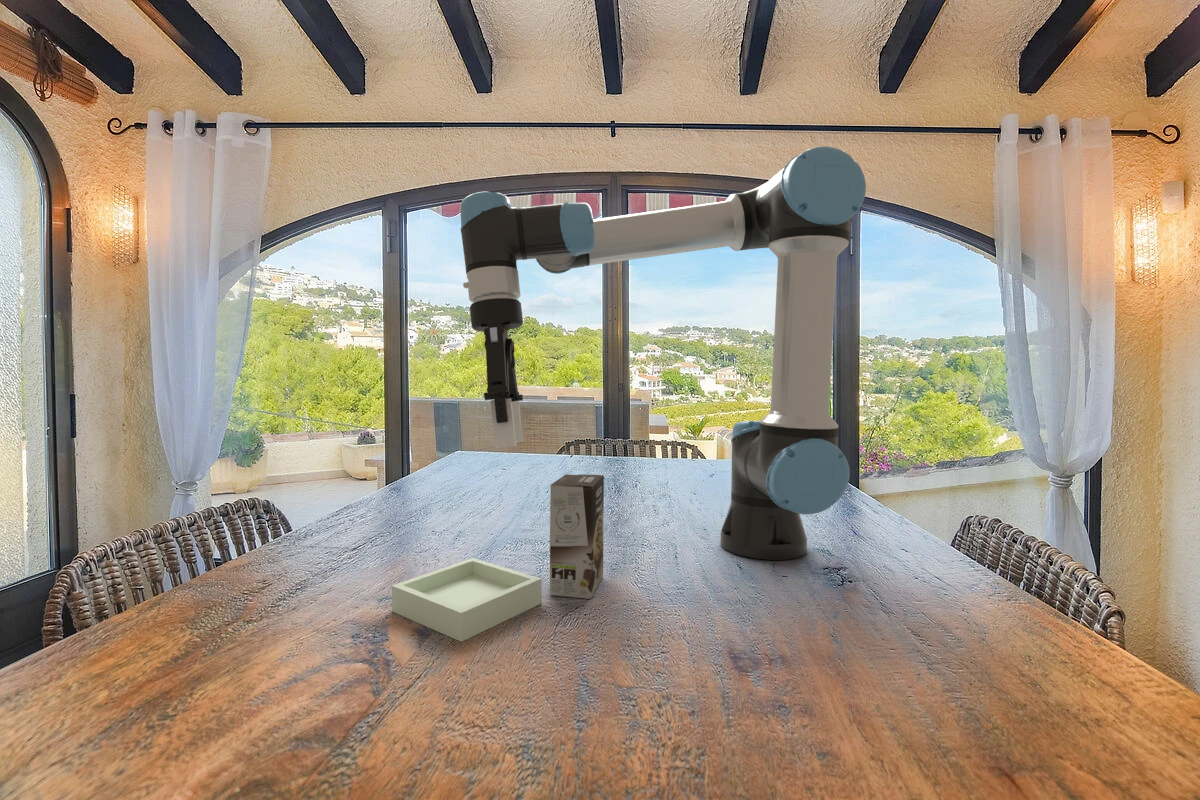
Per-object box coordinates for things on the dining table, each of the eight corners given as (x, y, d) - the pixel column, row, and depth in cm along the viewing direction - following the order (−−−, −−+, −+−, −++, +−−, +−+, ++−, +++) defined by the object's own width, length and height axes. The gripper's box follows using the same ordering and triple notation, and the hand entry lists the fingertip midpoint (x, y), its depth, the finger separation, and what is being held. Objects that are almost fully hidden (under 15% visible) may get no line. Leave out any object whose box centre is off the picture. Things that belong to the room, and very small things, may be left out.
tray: (541, 603, 80) (541, 578, 80) (461, 641, 69) (461, 612, 69) (473, 580, 88) (473, 557, 88) (391, 611, 77) (391, 585, 77)
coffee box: (592, 600, 81) (593, 486, 80) (548, 596, 83) (548, 484, 82) (604, 576, 90) (605, 474, 89) (564, 573, 91) (565, 472, 91)
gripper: (481, 318, 98) (495, 443, 97) (453, 285, 73) (471, 453, 72) (526, 314, 98) (539, 438, 98) (513, 279, 73) (531, 446, 73)
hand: (510, 445), depth 85 cm, fingers open, 13 cm apart
